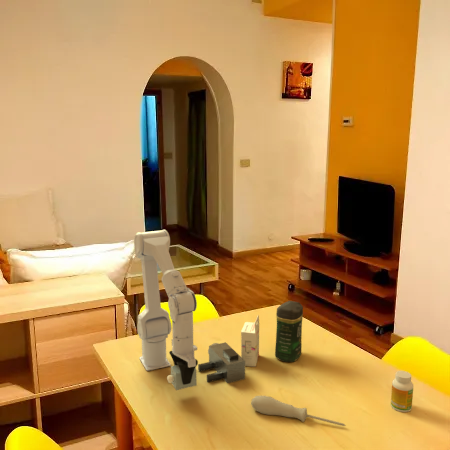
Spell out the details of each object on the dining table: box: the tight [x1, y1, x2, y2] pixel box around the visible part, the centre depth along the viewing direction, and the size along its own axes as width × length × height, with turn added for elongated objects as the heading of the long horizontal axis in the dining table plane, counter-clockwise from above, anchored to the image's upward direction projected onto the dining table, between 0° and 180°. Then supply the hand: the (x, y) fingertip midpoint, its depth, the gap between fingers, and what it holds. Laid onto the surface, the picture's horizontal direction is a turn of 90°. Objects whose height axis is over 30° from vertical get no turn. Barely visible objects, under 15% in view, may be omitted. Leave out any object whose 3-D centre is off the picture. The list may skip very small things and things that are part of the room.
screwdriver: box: [250, 395, 346, 427], centre depth 122 cm, size 5×25×4 cm, turn 69°
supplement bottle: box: [390, 370, 414, 413], centre depth 126 cm, size 5×5×10 cm
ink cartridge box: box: [240, 314, 260, 367], centre depth 152 cm, size 9×5×15 cm, turn 168°
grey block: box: [166, 365, 198, 391], centre depth 131 cm, size 4×8×5 cm, turn 115°
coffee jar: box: [274, 300, 304, 363], centre depth 154 cm, size 10×8×19 cm
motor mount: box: [197, 342, 246, 384], centre depth 145 cm, size 16×11×7 cm
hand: (183, 379), depth 131 cm, fingers closed on grey block, 4 cm apart
